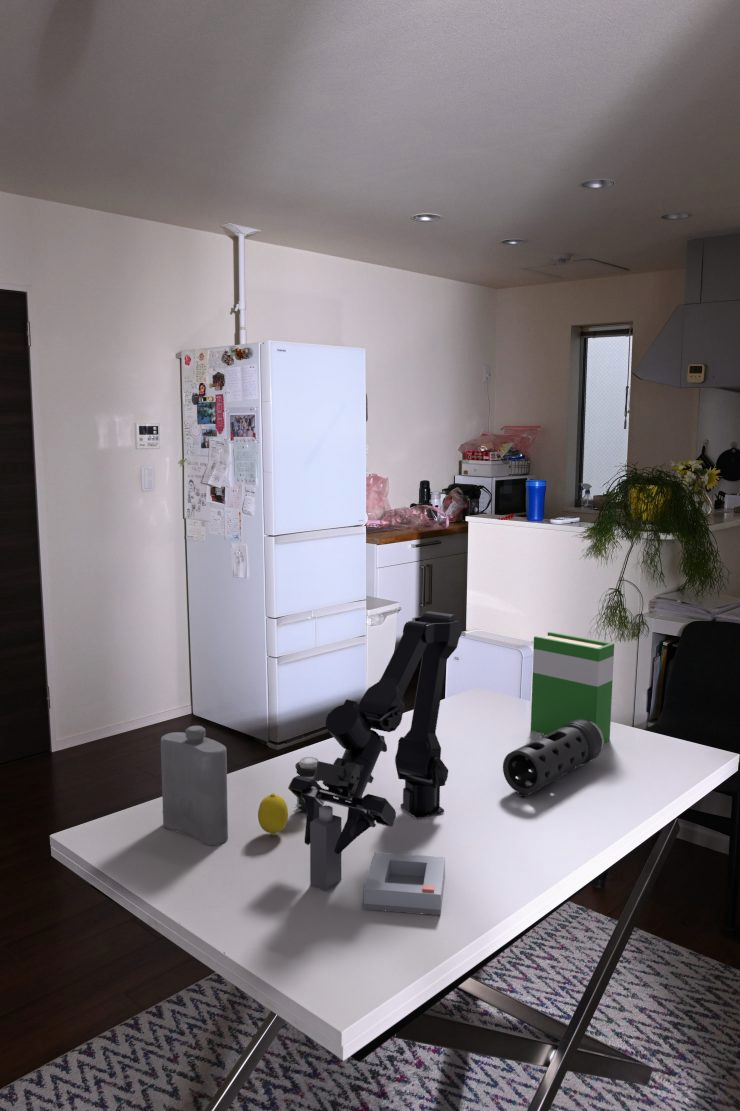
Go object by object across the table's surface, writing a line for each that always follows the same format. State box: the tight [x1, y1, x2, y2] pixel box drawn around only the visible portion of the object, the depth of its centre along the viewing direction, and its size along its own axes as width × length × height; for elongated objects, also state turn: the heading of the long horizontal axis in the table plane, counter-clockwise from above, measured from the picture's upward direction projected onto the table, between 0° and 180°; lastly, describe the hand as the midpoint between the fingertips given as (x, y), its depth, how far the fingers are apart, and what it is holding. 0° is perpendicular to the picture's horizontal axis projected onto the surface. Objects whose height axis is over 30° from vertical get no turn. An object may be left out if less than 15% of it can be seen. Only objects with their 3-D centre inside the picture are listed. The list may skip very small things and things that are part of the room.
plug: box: [309, 804, 342, 892], centre depth 144 cm, size 4×3×13 cm
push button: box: [291, 756, 319, 814], centre depth 172 cm, size 7×5×10 cm
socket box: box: [363, 851, 446, 916], centre depth 142 cm, size 12×12×4 cm
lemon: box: [257, 793, 289, 836], centre depth 162 cm, size 6×6×8 cm
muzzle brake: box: [502, 719, 604, 798], centre depth 189 cm, size 10×28×10 cm, turn 138°
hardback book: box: [530, 631, 615, 744], centre depth 214 cm, size 18×7×24 cm, turn 48°
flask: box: [160, 725, 229, 847], centre depth 162 cm, size 15×6×20 cm, turn 54°
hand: (321, 848), depth 143 cm, fingers open, 6 cm apart
